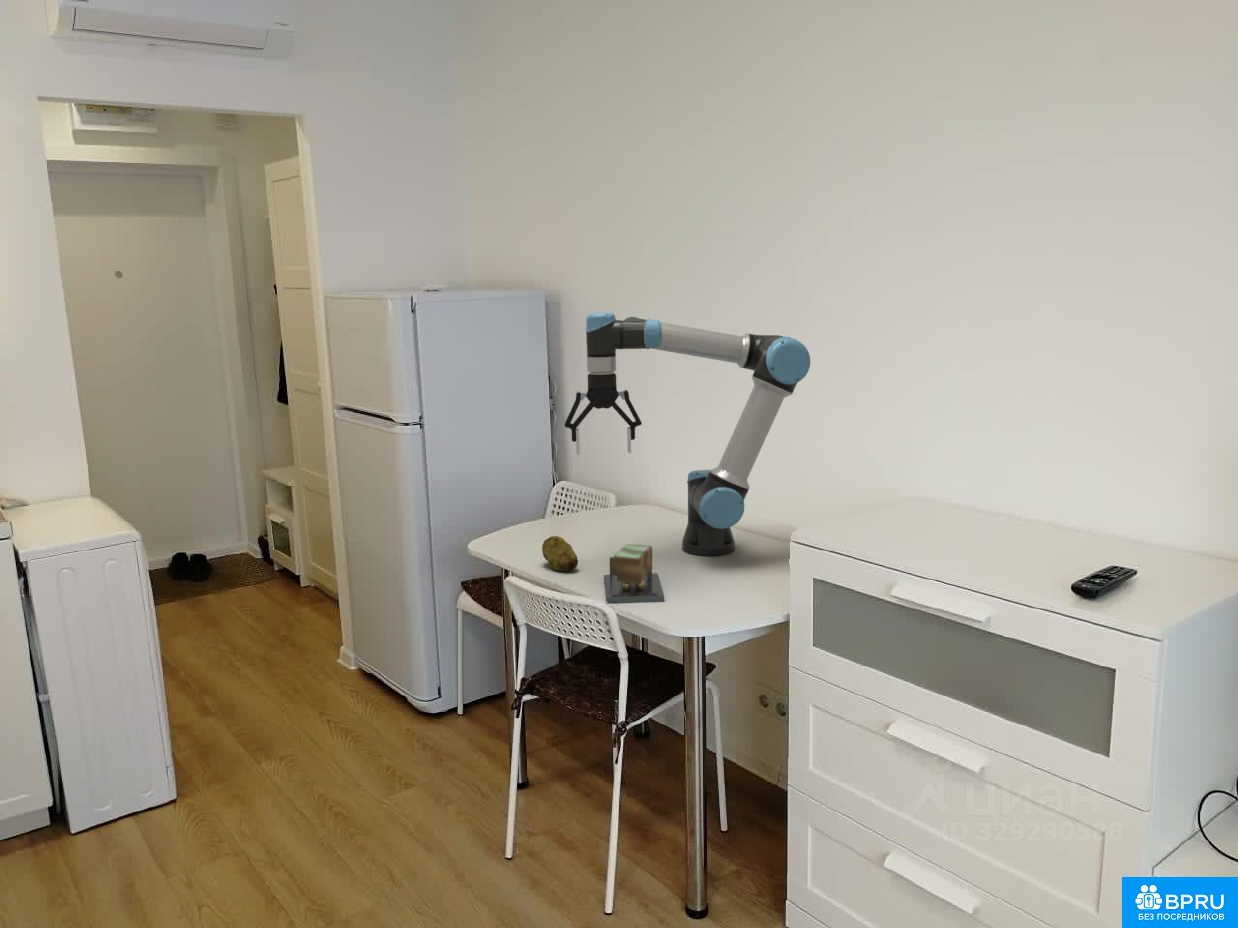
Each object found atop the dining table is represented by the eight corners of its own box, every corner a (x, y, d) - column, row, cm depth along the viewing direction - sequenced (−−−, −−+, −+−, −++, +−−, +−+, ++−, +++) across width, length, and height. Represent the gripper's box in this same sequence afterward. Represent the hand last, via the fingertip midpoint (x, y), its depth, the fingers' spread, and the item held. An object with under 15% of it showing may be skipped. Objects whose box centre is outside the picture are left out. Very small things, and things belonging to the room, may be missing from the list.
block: (626, 567, 251) (625, 543, 250) (652, 569, 249) (652, 545, 248) (612, 581, 240) (611, 556, 239) (639, 583, 238) (639, 558, 237)
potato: (549, 576, 258) (548, 546, 257) (540, 562, 271) (539, 534, 269) (580, 572, 260) (579, 544, 259) (569, 559, 273) (568, 532, 271)
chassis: (603, 580, 254) (603, 556, 252) (657, 578, 254) (657, 554, 253) (606, 603, 236) (605, 577, 235) (664, 601, 237) (663, 575, 235)
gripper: (648, 370, 259) (649, 448, 263) (554, 372, 257) (556, 451, 261) (650, 373, 251) (651, 454, 255) (553, 375, 250) (556, 456, 254)
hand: (603, 453), depth 258 cm, fingers open, 13 cm apart
